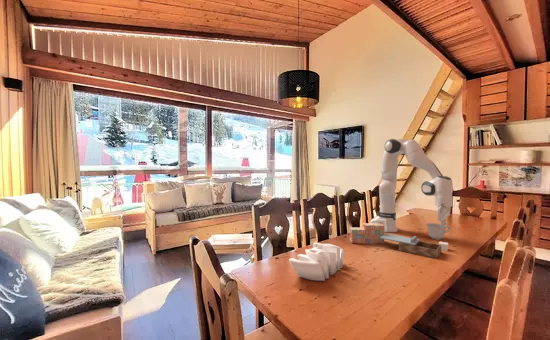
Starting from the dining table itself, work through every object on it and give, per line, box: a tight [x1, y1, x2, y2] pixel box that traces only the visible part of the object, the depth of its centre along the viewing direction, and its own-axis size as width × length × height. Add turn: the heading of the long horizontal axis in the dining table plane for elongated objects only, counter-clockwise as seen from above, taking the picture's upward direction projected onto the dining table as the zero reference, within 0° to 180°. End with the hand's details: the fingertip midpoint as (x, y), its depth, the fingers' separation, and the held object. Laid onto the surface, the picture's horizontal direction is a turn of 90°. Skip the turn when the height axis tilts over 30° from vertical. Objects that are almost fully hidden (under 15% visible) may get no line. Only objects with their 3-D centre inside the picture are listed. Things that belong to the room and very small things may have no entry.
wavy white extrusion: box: [288, 242, 345, 282], centre depth 127 cm, size 35×16×10 cm, turn 137°
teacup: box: [426, 222, 450, 241], centre depth 173 cm, size 12×15×10 cm
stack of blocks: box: [349, 222, 385, 244], centre depth 169 cm, size 21×6×12 cm, turn 87°
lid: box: [380, 233, 421, 245], centre depth 157 cm, size 20×11×3 cm, turn 48°
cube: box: [438, 241, 449, 252], centre depth 152 cm, size 4×4×4 cm
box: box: [398, 240, 442, 260], centre depth 150 cm, size 20×12×5 cm, turn 48°
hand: (443, 225), depth 152 cm, fingers closed
